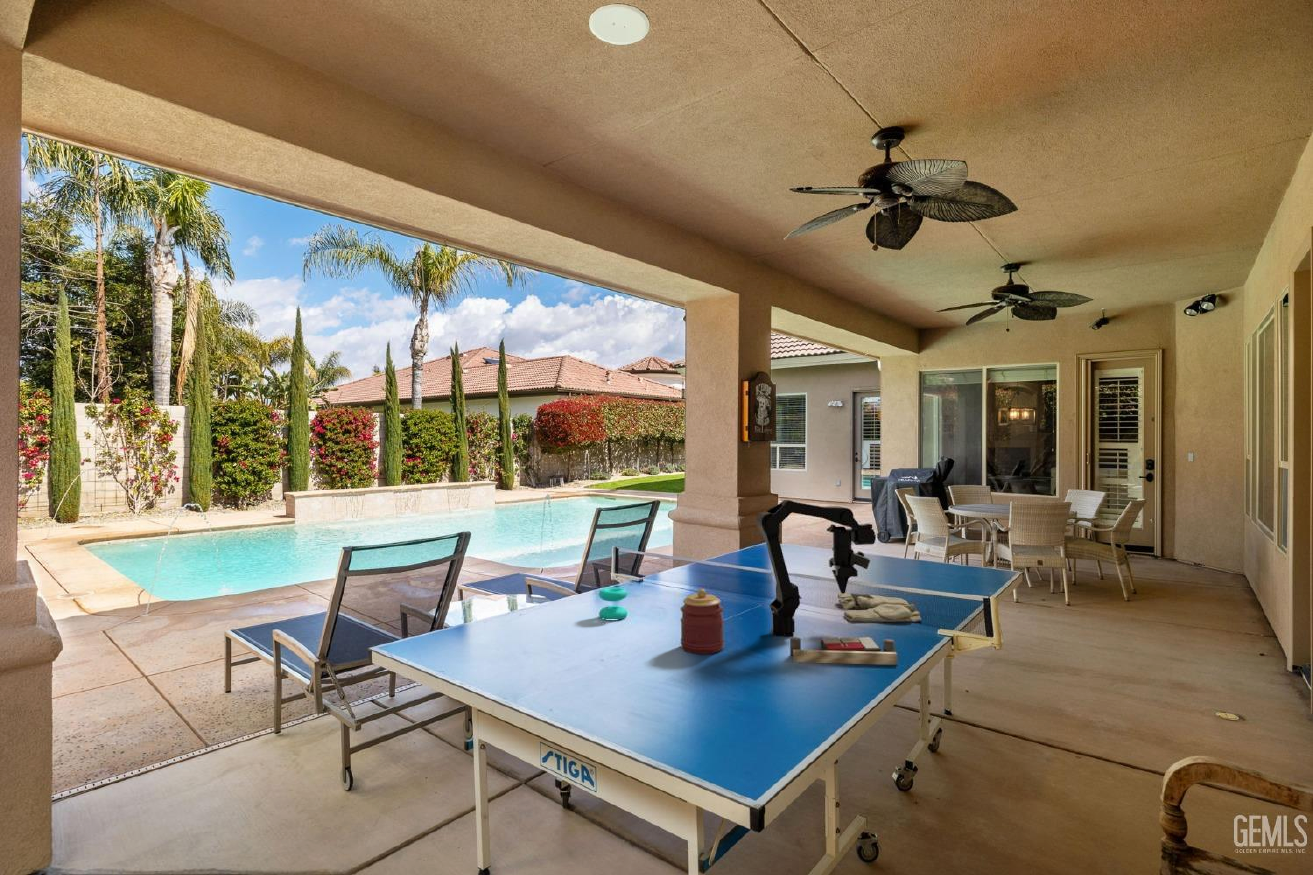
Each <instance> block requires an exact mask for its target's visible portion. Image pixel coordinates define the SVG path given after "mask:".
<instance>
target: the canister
mask: <svg viewBox="0 0 1313 875" xmlns="http://www.w3.org/2000/svg"><path fill="white" fill-rule="evenodd" d="M682 601H683V603H684V604H683V605H682V606H681V607H680V609H679V610H680V611H681V612H682V614H681V615H682V616H681V618H680V626H681V628H680V629H681V632H680V633H681V635H680V636H681V637H680V644H681V649H682V650H683V651H685V652H687V653H691V654H697V655H698V654H699V655H709V654H710V655H712V654H715V653H716V654H717V653H718V652H721V651H722V650H723V649H724V645H725V639H724V621H725V620H724V617H723V611H724V610H725V609H724V607H723V606H721V601H722V600H721V599H719V598H717V596H715V595H714V594H710V593H709V594H708V593H707V592H706V590H705V589H704V588H700V589H698V591H697V593H695V594H690V595H688V596H687V597H686V598H684V599H682Z"/></svg>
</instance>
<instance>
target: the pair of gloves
mask: <svg viewBox="0 0 1313 875" xmlns="http://www.w3.org/2000/svg"><path fill="white" fill-rule="evenodd" d="M837 598H838V603H839V604H840V605H841V607H842V609H843V610H845V611H844V612H843V616H844V618H845V619H847V621H850V622H853V623H854V622H858V623H859V622H862V623H865V622H866V623H869V622H870V623H871V622H872V623H873V622H874V623H879V622H881V623H883V622H885V623H896V622H899V623H901V622H903V623H905V622H906V623H907V622H908V623H909V622H912V623H916V622H919V621H920V622H921V621H922V618H921V616H920V615H921V614H920V611H919V610H916V606H915V605H914V604H913V603H912V604H909V603H908V602H907V600H905V599H904V598H900V597H890V596H889V597H888V596H883V595H876V594H875V595H874V594H862V593H860V594H859V593H850V594H847V593H845V594H842V593H841V592H838V593H837ZM855 607H856V608H855ZM852 608H855V609H856V610H853V609H852ZM860 608H865V609H861V610H860ZM869 608H872V609H869ZM847 609H848V610H847ZM850 609H852V610H850ZM857 609H858V610H857Z"/></svg>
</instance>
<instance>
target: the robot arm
mask: <svg viewBox="0 0 1313 875" xmlns="http://www.w3.org/2000/svg"><path fill="white" fill-rule="evenodd" d="M791 514H798V515H803V516H809V517H815V518H820V519H824V520H827V521H828V522H829V521H830V522H831V524H830V526H829V527H828V528H826V531H827V532H829V533H832V534H833V535H832V536H833V537H832V538H833V539H832V541H833V542H832V544H833V545H832V546H833V547H832V549H831V550H832V551H833V552H832V554H833V555H832V557H831V558H830V559H828V566H829V567H830V568H833V567H834V569H832V570H831V573H832V574H833V576H834V579H835V582H836V584H837V587H838V589H839V592H840V593H842V594H846V590H847V586H848V583H849V579H850V578H852V577H854V578H855V577H857V578H858V574H859V573H858V570H857V568H855V565H856V566H858V567H861V568H863V569H865V570H868V568H869V565H870V564H871V563H870V562H871V559H869V558H868V557H867V556H865V553H864V552H862V551H859V550H858V551H857V552H856V553H855V552H854V550H853V548H852V543H854V545H855V546H870V545H871V546H872V545H874V544H875V543H876V539H877V538H876V537H877V536H876V533H875V530H874V528H873V524H872V523H864V524H863V523H862V524H859V522H858V521H857V520H856V519H855V517H854V516H855V515H854V512H853V511H852V509H850V508H848V507H844V506H839V505H837V506H832V505H831V506H820V505H815V504H809V503H804V502H803V503H802V502H798V501H793V500H790V499H784V500H782V501H781V502H779V503H778V504H776V505H774V506H773V507H771V508H769V509H768V510H766V511H762V512H759V514H758V515H757V516H756V518H755V522H756V523H755V524H756V526H757V528H758V530H759V532H760V534H761V536H762V537H763V540H764V541H765V544H766V548H767V553H768V556H769V560H770V563H771V567H772V571H773V574H774V578H775V582H776V583H775V598H774V600H772V602H771V603H770V604H769V607H770V611H771V612H772V613H771V622H772V623H771V626H772V628H771V634H772V636H779V637H780V636H781V637H784V636H785V637H786V636H789V637H795V636H794V633H795V629H796V628H795V618H794V616H795V613H796V610H797V609H799V606H800V604H801V600H802V597H801V596H800V591H799V587H798V585H796V584H795V583H793V582H791V580H790V576H789V573H788V569H787V565H786V560H785V558H784V553H783V549H782V546H781V543H780V533H781V532H780V531H781V530H780V524H782V522H784V521H785V520H786V518H788V517H789V516H790V515H791ZM832 523H833V524H832ZM835 524H838V525H840V526H836V525H835ZM846 527H847V528H846Z"/></svg>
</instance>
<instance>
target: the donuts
mask: <svg viewBox="0 0 1313 875" xmlns="http://www.w3.org/2000/svg"><path fill="white" fill-rule="evenodd" d="M598 592H599V593H598V596H599V598H600V599H602V600H603V601H605V602H620V601H623V600H624V599H626V598H627V595H628V591H627V590H626V589H625V588H624V587H618V586H617V587H614V586H612V587H605V588H601V589H600V590H599V591H598ZM598 616H599V617H600V619H602V618H604V619H621V620H623V619H622V618H624V619H625V618H626V617H627V616H628V611H627V609H626V608H625V607H623V606H620V605H607V606H604V607H602V608H601V609H600V610H599V612H598ZM604 619H603V620H604Z"/></svg>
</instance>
